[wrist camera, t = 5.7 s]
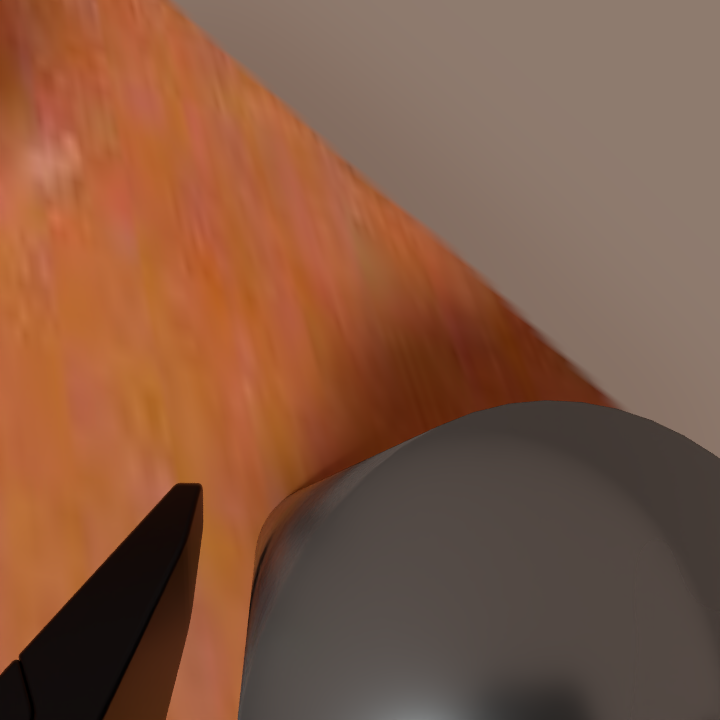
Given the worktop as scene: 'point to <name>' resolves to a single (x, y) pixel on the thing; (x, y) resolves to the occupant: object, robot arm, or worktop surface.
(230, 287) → the worktop surface
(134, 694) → the robot arm
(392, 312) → the worktop surface
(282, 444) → the worktop surface
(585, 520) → the hinge pin
